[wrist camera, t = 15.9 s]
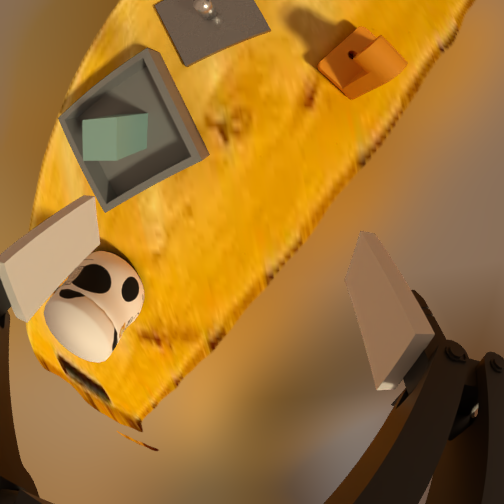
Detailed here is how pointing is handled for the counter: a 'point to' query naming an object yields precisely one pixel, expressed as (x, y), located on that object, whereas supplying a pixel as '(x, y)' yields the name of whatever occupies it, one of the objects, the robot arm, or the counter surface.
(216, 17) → the base
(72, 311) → the milk container
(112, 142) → the green rectangular block
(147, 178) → the bin
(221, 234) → the counter surface
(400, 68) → the bracket
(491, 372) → the robot arm
